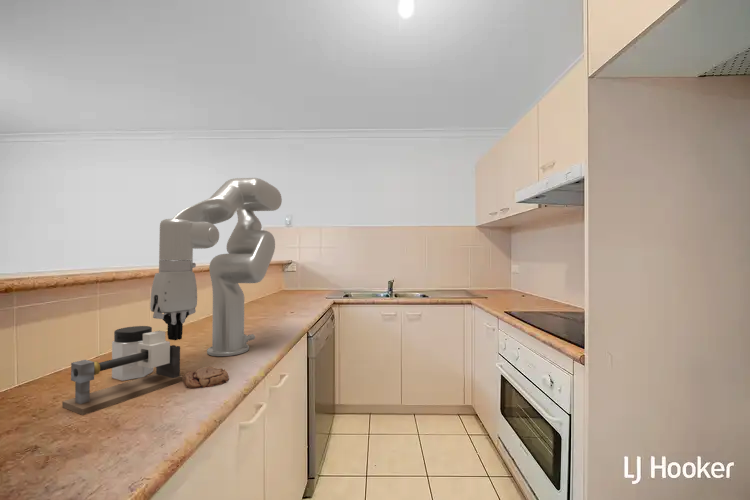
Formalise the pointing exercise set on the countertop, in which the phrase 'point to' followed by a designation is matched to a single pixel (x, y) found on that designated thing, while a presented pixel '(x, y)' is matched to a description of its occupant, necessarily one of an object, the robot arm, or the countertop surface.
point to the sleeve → (154, 349)
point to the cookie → (206, 377)
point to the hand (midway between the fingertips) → (174, 339)
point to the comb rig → (109, 396)
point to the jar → (129, 352)
